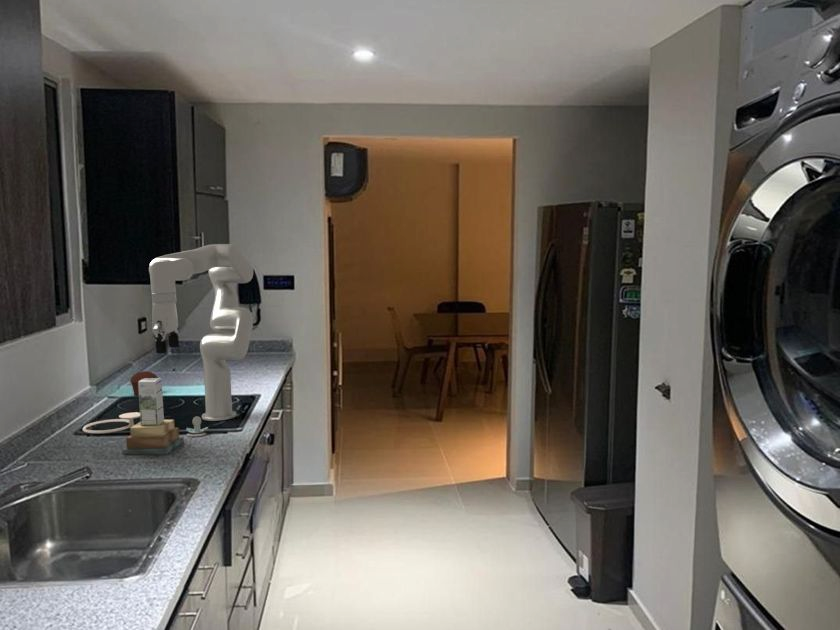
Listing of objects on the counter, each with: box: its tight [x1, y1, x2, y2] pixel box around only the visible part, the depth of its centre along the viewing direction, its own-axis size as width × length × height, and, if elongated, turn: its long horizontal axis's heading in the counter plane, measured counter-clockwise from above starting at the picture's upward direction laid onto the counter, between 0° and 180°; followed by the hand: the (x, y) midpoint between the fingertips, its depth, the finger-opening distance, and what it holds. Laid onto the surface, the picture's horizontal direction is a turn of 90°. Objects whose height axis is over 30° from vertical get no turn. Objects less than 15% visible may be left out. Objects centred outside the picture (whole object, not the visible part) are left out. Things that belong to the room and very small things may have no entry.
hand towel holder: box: [82, 411, 140, 435], centre depth 254 cm, size 17×4×21 cm
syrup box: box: [138, 377, 165, 425], centre depth 227 cm, size 6×6×14 cm
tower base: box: [121, 419, 185, 455], centre depth 228 cm, size 14×14×8 cm
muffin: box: [129, 371, 159, 396], centre depth 306 cm, size 12×11×10 cm
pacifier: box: [185, 415, 209, 438], centre depth 243 cm, size 7×6×6 cm
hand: (168, 349), depth 232 cm, fingers open, 9 cm apart
